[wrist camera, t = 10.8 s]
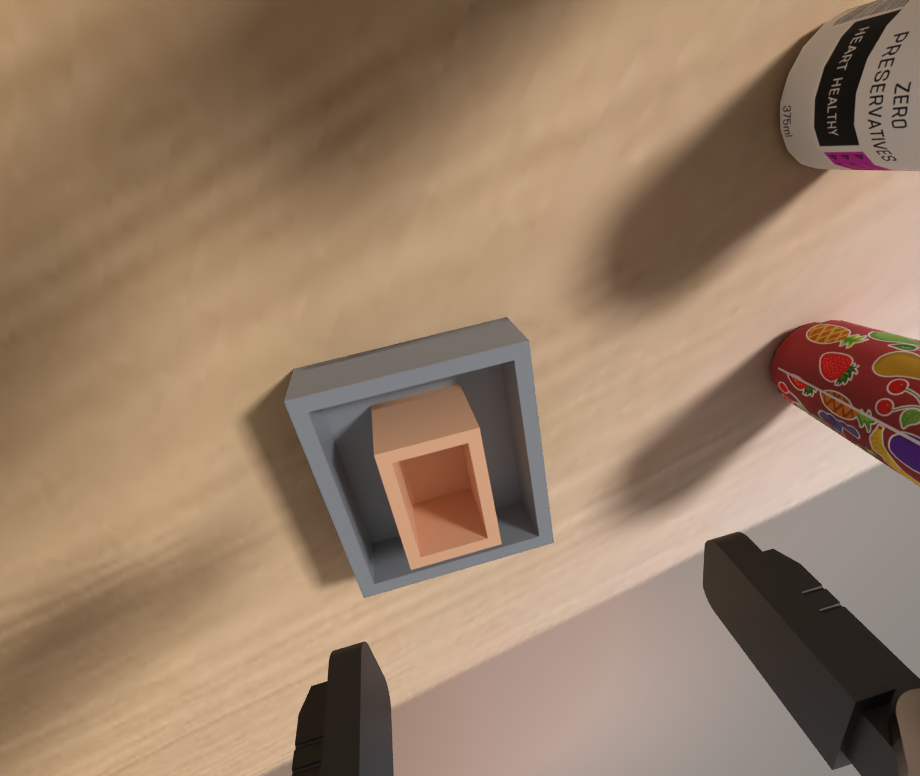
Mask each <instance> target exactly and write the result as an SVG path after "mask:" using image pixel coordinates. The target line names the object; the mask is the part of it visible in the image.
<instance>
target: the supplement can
mask: <svg viewBox="0 0 920 776" xmlns="http://www.w3.org/2000/svg"><path fill="white" fill-rule="evenodd" d="M780 130H781V133H782V136H783V139H784V142H785V145H786V148H787V151H788V152H789V153H790V154H791V155H792V156H793V157H794V158H795V159H796V160H797V161H798V162H799V163H800V164H802V165H806V166H809V167H813V168H816V169H840V170H894V171H920V0H878V1H874V2H871V3H868V4H865V5H861V6H858V7H855V8H852V9H848V10H846V11H845V12H843V13H841V14H840V15H838V16H836V17H835V18H833V19H831V20H830V21H828V22H826V23H825V24H823V26H822V27H821V28H820V29H819V30H818V31H817V32H816V33H815V34H814V35H813V37H812V38H811V39H810V40H809V41H808V42H807V43H806V44H805V45H804V46H803V48H802V50H801V52H800V54H799V56H798V57H797V59H796V61H795V63H794V65H793V67H792V68H791V70H790V72H789V74H788V77H787V79H786V83H785V87H784V90H783V94H782V98H781V101H780Z"/></svg>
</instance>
